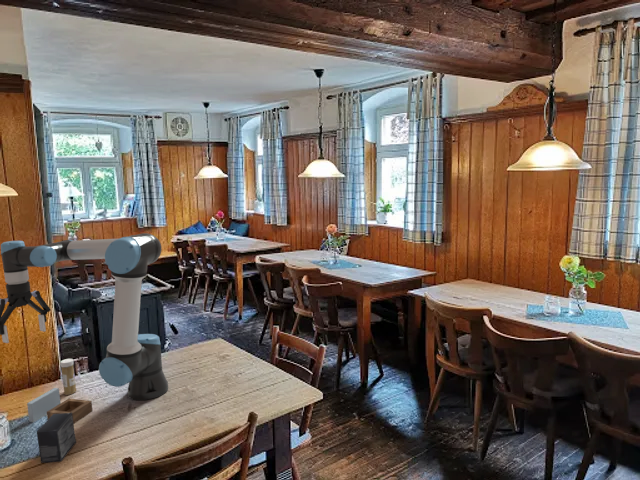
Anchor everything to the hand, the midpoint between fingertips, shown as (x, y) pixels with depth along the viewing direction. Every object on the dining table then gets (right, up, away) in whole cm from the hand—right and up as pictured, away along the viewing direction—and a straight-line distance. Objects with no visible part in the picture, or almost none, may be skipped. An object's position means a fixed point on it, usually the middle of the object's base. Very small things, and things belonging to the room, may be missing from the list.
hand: (25, 336), depth 176 cm
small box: (+31, -30, -32) cm, 53 cm away
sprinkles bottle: (+13, -24, +9) cm, 29 cm away
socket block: (+23, -27, -10) cm, 37 cm away
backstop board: (+12, -27, -8) cm, 30 cm away
